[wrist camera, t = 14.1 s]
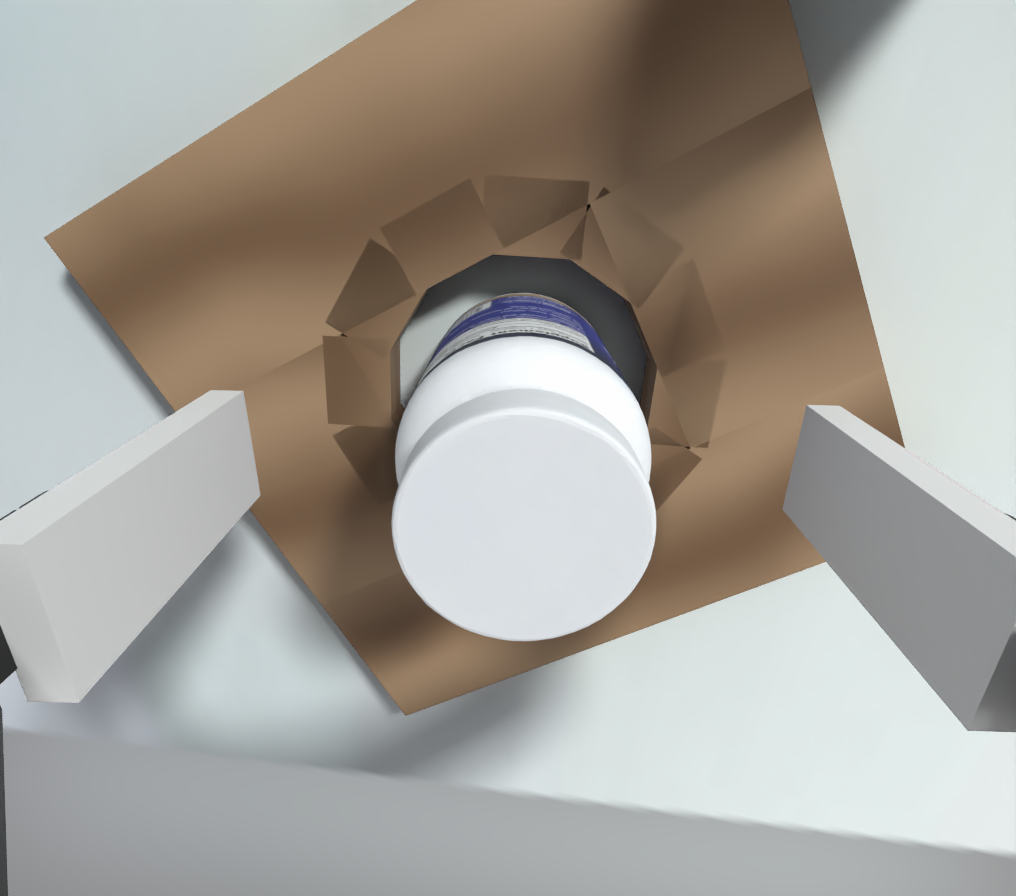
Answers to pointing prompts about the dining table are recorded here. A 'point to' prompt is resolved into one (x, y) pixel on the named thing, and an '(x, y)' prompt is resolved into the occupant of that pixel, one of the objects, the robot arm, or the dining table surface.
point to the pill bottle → (523, 475)
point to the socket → (517, 232)
